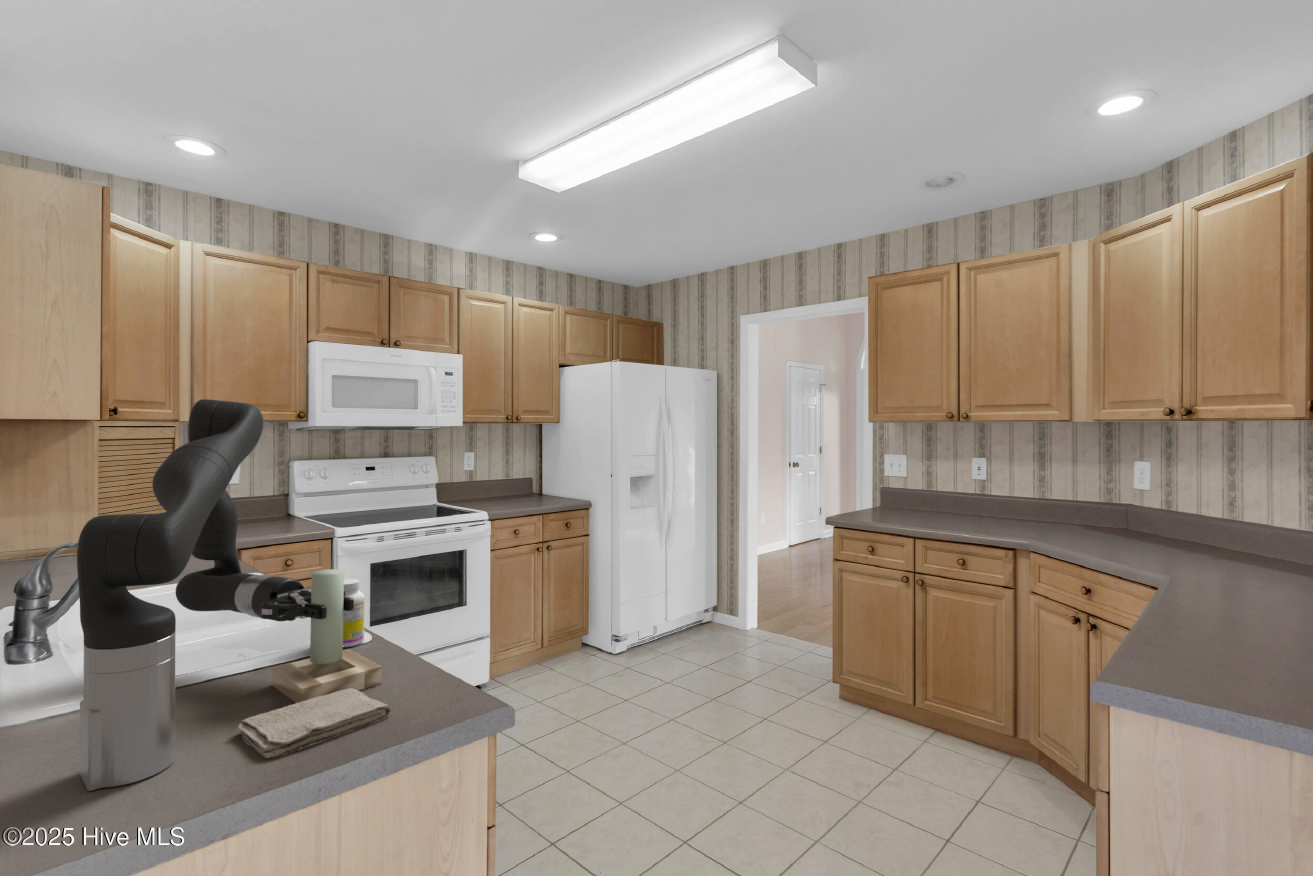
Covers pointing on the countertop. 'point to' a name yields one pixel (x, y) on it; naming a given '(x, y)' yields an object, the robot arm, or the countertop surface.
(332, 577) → the green cylinder
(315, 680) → the pocket block
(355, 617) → the supplement bottle
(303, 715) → the washcloth
